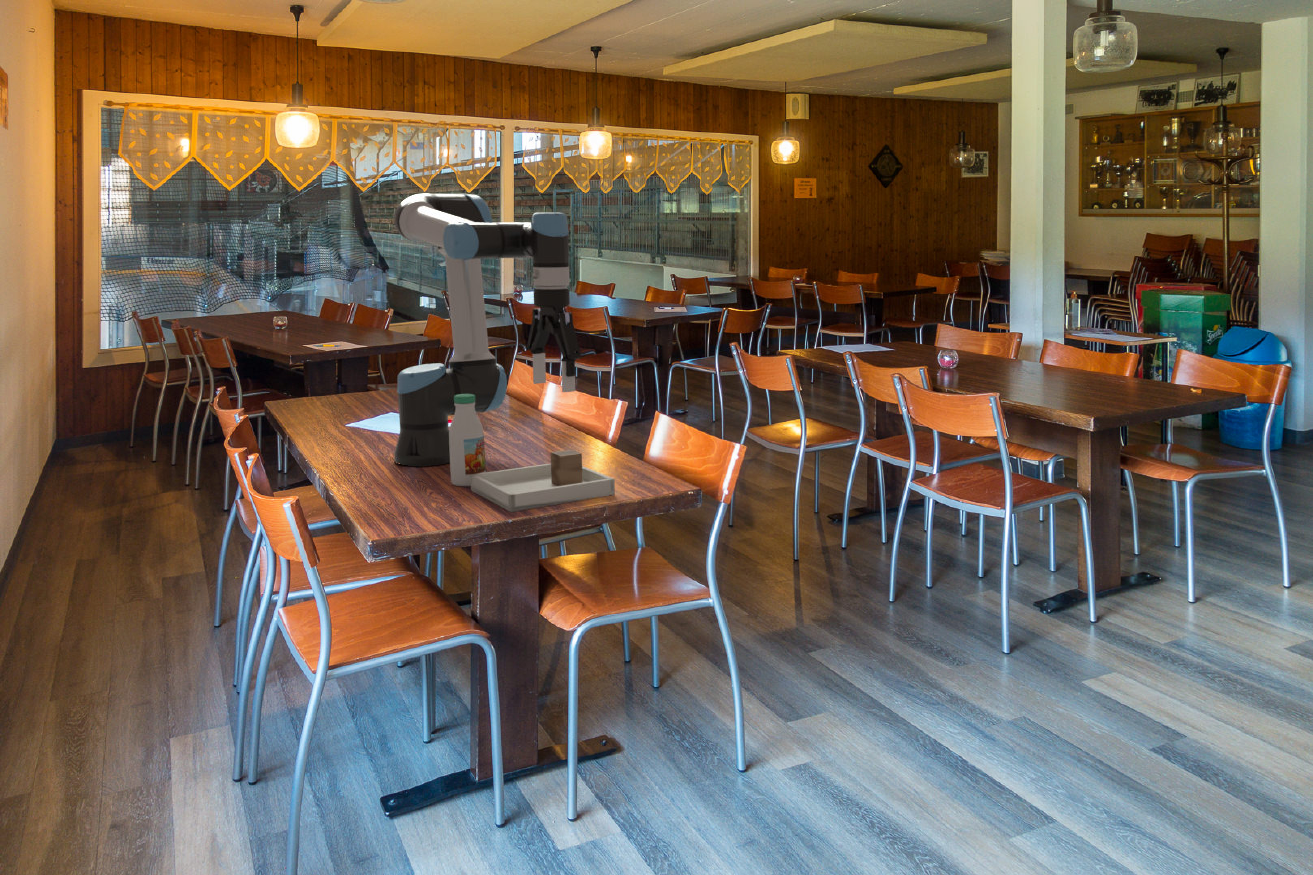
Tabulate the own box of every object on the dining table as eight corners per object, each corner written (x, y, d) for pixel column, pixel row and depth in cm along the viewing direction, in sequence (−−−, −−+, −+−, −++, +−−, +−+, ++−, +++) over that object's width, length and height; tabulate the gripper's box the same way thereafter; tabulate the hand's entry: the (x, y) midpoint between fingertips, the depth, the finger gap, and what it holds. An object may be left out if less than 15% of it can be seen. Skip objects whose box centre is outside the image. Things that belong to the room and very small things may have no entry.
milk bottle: (452, 488, 220) (447, 398, 216) (449, 480, 227) (445, 393, 223) (487, 485, 222) (484, 396, 218) (484, 477, 229) (480, 391, 226)
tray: (471, 490, 218) (470, 474, 218) (569, 475, 231) (569, 460, 230) (510, 512, 201) (510, 495, 200) (614, 494, 213) (614, 478, 213)
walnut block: (551, 483, 220) (550, 452, 218) (571, 480, 222) (571, 449, 221) (561, 488, 215) (561, 456, 214) (582, 484, 218) (581, 453, 217)
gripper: (509, 285, 219) (513, 381, 224) (563, 291, 199) (565, 397, 203) (540, 284, 223) (543, 378, 228) (596, 290, 203) (597, 393, 207)
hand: (553, 387), depth 215 cm, fingers open, 13 cm apart
